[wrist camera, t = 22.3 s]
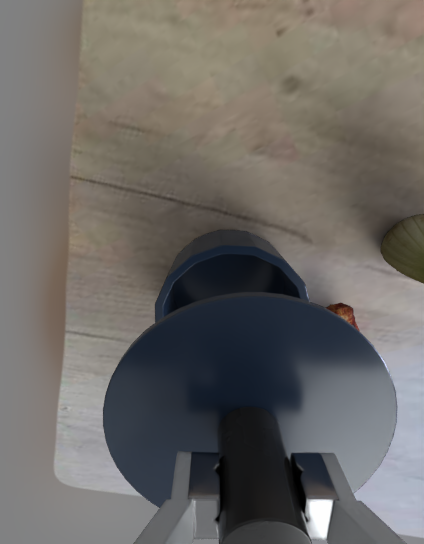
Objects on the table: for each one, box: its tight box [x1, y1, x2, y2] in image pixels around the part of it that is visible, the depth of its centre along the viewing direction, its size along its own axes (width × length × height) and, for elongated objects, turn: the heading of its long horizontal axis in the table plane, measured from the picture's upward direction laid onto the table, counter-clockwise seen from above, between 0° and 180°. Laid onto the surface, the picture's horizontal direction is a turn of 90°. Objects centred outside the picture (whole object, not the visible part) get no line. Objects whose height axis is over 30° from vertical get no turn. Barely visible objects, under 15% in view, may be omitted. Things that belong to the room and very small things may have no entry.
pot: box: [155, 230, 310, 323], centre depth 24 cm, size 11×11×6 cm
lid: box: [103, 292, 397, 544], centre depth 10 cm, size 12×12×5 cm
